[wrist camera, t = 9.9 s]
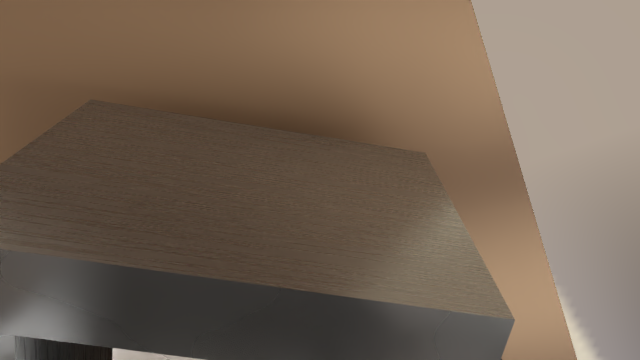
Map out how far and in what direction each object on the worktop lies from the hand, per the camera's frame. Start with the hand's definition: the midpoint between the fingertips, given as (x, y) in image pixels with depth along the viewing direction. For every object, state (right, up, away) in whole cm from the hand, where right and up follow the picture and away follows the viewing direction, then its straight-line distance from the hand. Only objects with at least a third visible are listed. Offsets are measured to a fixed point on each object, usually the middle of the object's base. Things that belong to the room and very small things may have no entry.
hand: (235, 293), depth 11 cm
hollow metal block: (0, 0, +1) cm, 1 cm away
